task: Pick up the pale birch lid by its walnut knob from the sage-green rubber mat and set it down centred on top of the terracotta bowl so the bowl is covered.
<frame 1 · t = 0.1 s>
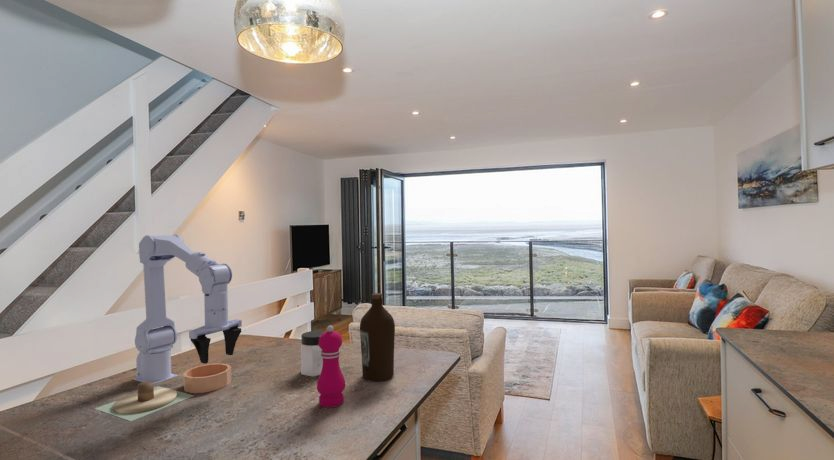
hand: (217, 358, 112), 10 cm above the countertop, tool pointing down, fingers open, 7 cm apart
pepper mill: (331, 403, 107), on the countertop
olive oil: (377, 376, 125), on the countertop
lid: (146, 401, 108), resting on mat
mat: (146, 403, 108), on the countertop
jar: (315, 372, 129), on the countertop
bowl: (207, 385, 119), on the countertop
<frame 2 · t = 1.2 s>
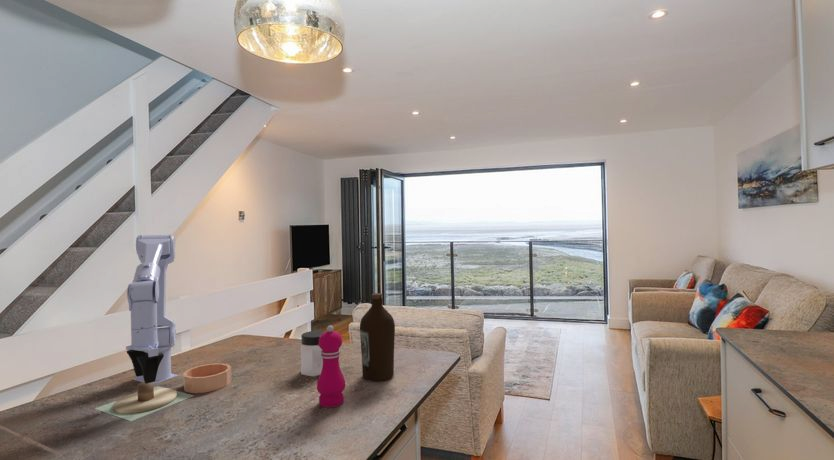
hand: (145, 378, 107), 7 cm above the countertop, tool pointing down, fingers open, 7 cm apart
nothing on the countertop moved.
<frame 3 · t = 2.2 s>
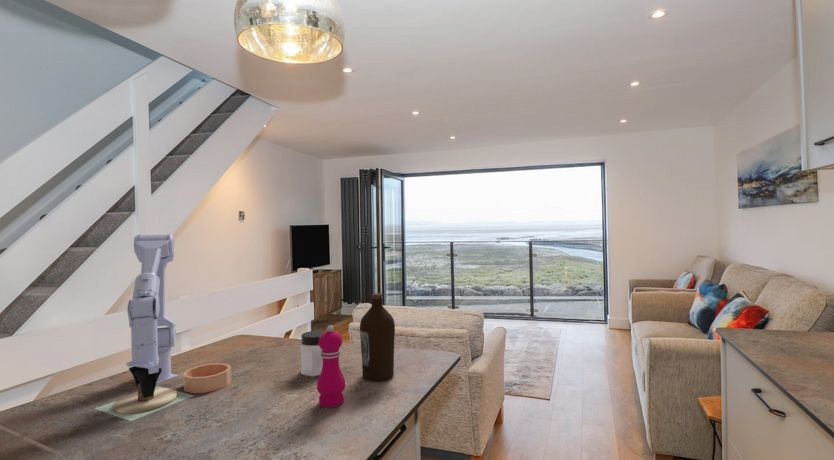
hand: (145, 394, 108), 2 cm above the countertop, tool pointing down, fingers closed on lid, 3 cm apart
lid: (146, 401, 108), point 1 cm above the countertop, touching gripper, mat
everything else where it was.
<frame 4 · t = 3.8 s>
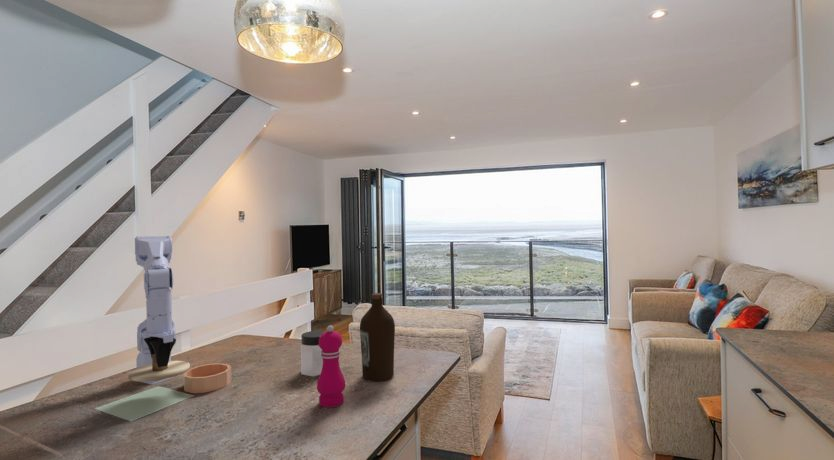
hand: (160, 364, 110), 9 cm above the countertop, tool pointing down, fingers closed on lid, 3 cm apart
lid: (160, 371, 110), point 7 cm above the countertop, touching gripper
everything else where it was.
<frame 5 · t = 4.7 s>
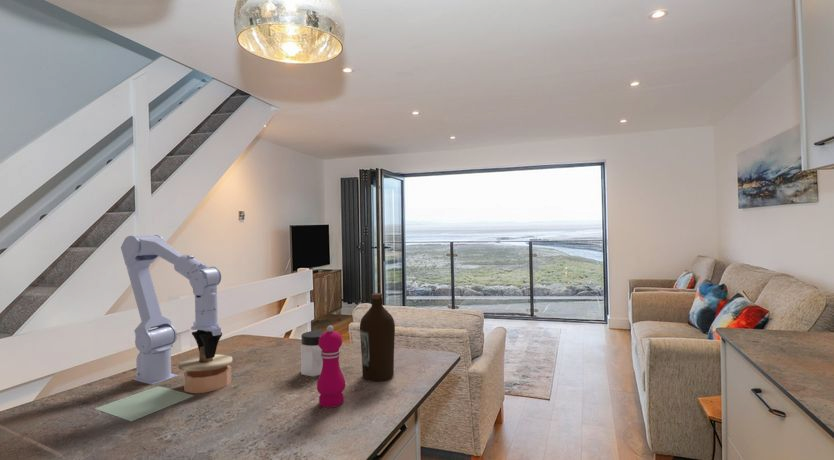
hand: (207, 356, 119), 9 cm above the countertop, tool pointing down, fingers closed on lid, 3 cm apart
lid: (205, 363, 119), point 7 cm above the countertop, touching gripper
everything else where it was.
when the fingers open (8 cm above the countertop, at t = 5.2 s): lid drops 1 cm, resting on bowl.
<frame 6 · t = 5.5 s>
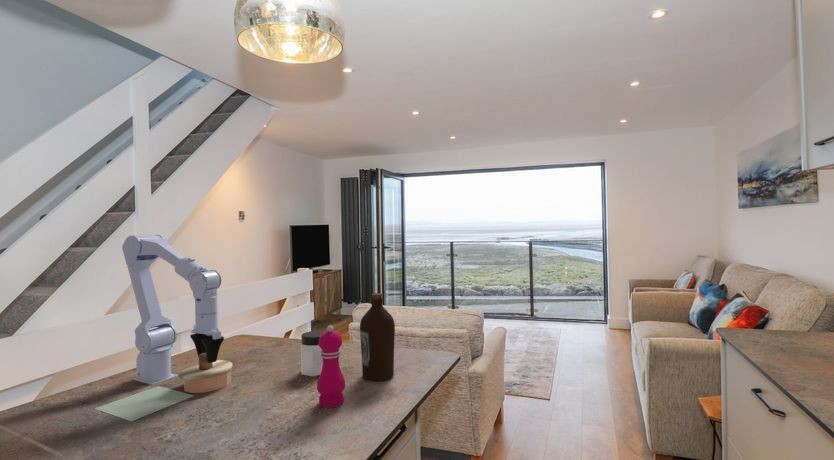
hand: (207, 359, 119), 8 cm above the countertop, tool pointing down, fingers open, 6 cm apart
lid: (205, 370, 119), point 4 cm above the countertop, touching bowl
everything else where it was.
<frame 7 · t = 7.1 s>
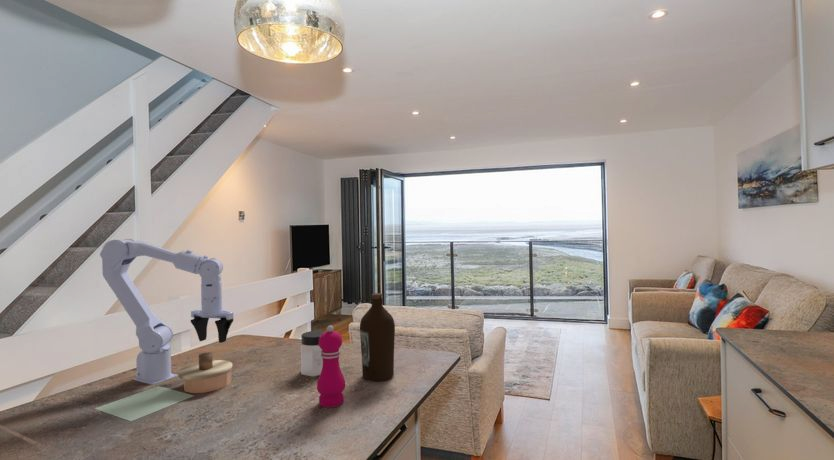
hand: (212, 341, 128), 10 cm above the countertop, tool pointing down, fingers open, 7 cm apart
nothing on the countertop moved.
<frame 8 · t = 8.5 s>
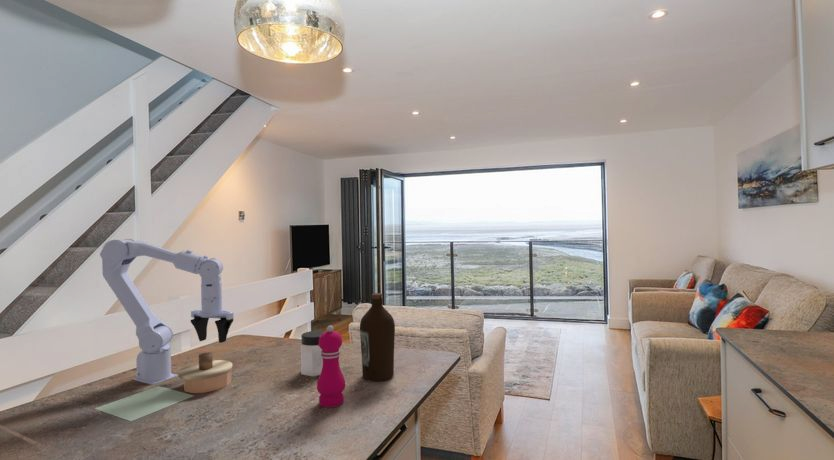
hand: (212, 341, 128), 10 cm above the countertop, tool pointing down, fingers open, 7 cm apart
nothing on the countertop moved.
at the end: lid 0.5 cm off-centre on the bowl, point 4.5 cm above the bowl's base; lid tilted 0°; the gripper is holding nothing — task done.
